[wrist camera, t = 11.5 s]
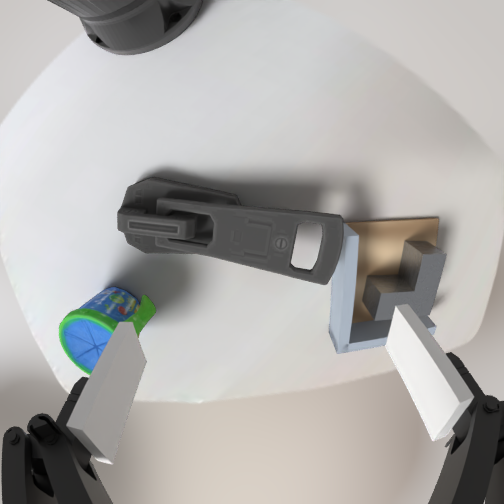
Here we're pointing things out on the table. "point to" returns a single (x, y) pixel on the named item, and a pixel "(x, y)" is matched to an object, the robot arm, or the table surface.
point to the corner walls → (342, 303)
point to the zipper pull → (224, 228)
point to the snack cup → (101, 324)
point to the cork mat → (385, 251)
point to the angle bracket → (406, 282)
